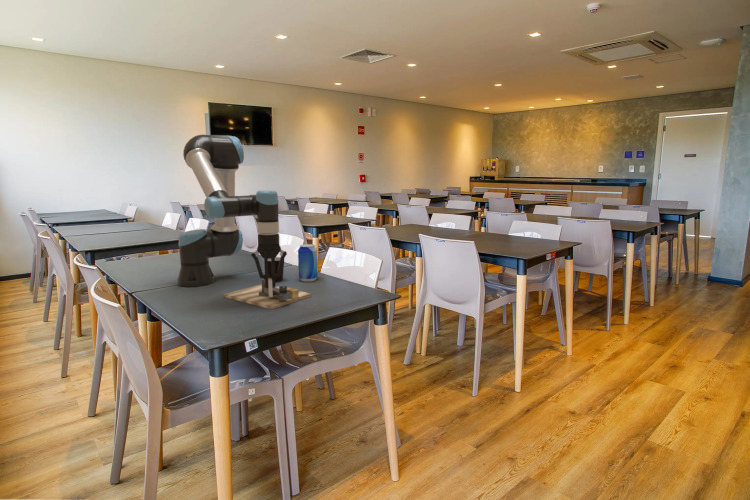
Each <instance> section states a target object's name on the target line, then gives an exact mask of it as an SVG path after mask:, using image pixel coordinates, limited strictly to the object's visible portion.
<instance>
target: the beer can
mask: <svg viewBox="0 0 750 500" xmlns="http://www.w3.org/2000/svg"><path fill="white" fill-rule="evenodd" d="M297 258H298V260H297V261H298V278H299V280H300V281H301V282H304V283H305V282H307V283H309V282H314V281H315V282H316V280H317V278H319V277H318V274H319V273H318V250H317V248H316V246H315V245H314V244H311V243H305V244H300V245H299V248H298V249H297Z"/></svg>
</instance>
